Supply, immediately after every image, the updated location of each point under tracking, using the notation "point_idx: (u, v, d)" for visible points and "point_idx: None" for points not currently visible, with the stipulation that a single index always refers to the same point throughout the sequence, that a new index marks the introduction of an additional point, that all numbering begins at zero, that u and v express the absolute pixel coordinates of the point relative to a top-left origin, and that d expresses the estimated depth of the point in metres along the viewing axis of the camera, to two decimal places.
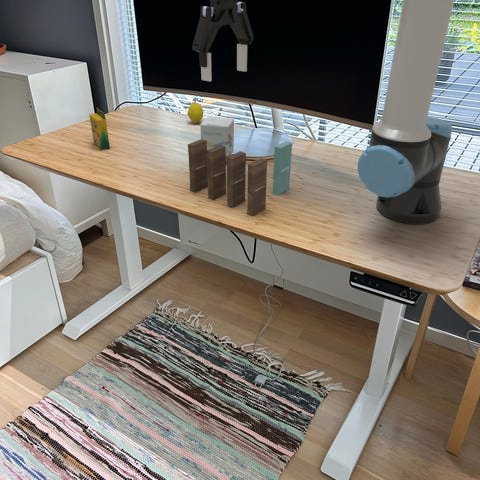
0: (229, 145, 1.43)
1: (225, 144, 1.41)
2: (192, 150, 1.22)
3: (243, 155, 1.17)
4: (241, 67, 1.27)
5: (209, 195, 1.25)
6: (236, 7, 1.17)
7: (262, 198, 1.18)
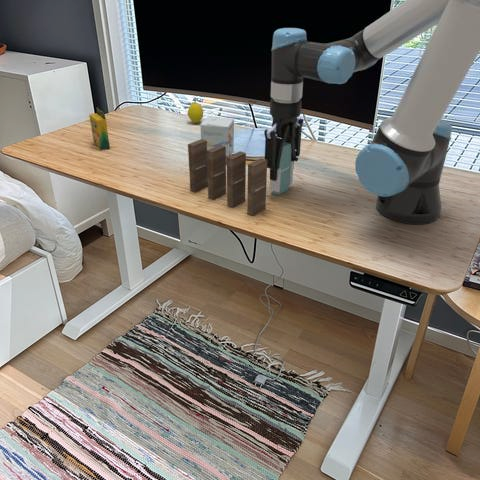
0: (229, 145, 1.43)
1: (225, 144, 1.41)
2: (192, 150, 1.22)
3: (243, 155, 1.17)
4: None
5: (209, 195, 1.25)
6: (295, 120, 1.21)
7: (262, 198, 1.18)
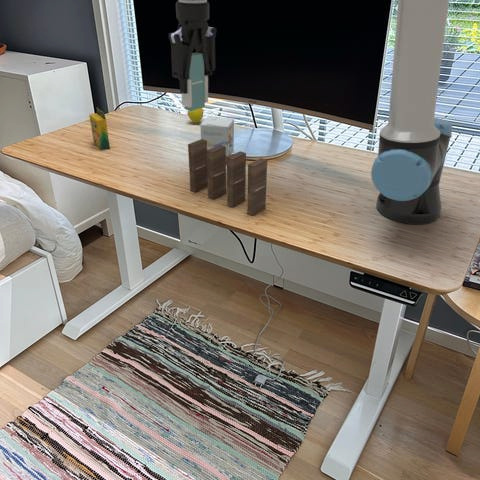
0: (229, 145, 1.43)
1: (225, 144, 1.41)
2: (192, 150, 1.22)
3: (243, 155, 1.17)
4: None
5: (209, 195, 1.25)
6: (206, 27, 1.14)
7: (262, 198, 1.18)
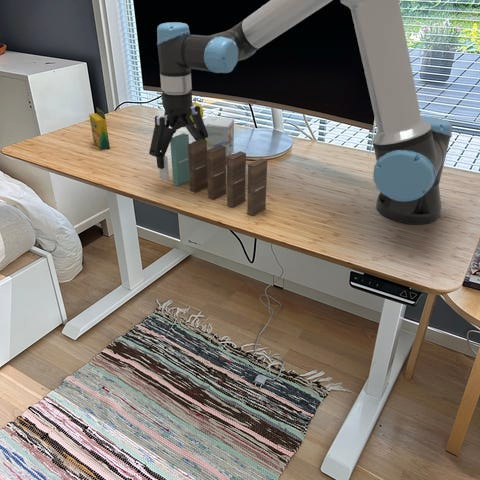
0: (229, 145, 1.43)
1: (225, 144, 1.41)
2: (192, 150, 1.22)
3: (243, 155, 1.17)
4: None
5: (209, 195, 1.25)
6: (190, 111, 1.25)
7: (262, 198, 1.18)
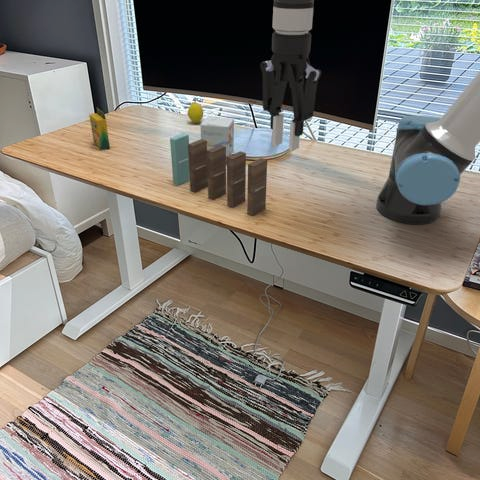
0: (229, 145, 1.43)
1: (225, 144, 1.41)
2: (192, 150, 1.22)
3: (243, 155, 1.17)
4: None
5: (209, 195, 1.25)
6: (301, 66, 0.94)
7: (262, 198, 1.18)
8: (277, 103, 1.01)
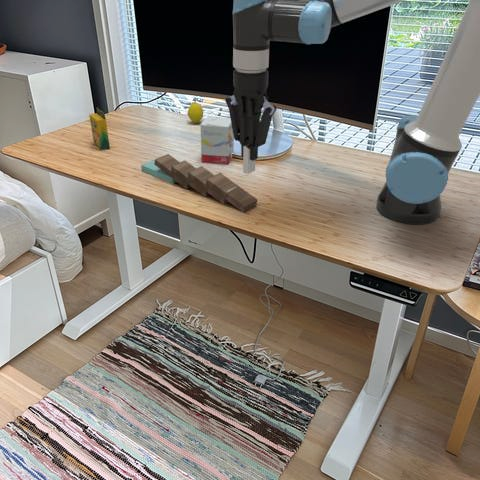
0: (229, 145, 1.43)
1: (225, 144, 1.41)
2: (157, 161, 1.33)
3: (200, 167, 1.29)
4: None
5: (203, 193, 1.26)
6: (259, 100, 1.04)
7: (244, 194, 1.21)
8: (245, 133, 1.11)
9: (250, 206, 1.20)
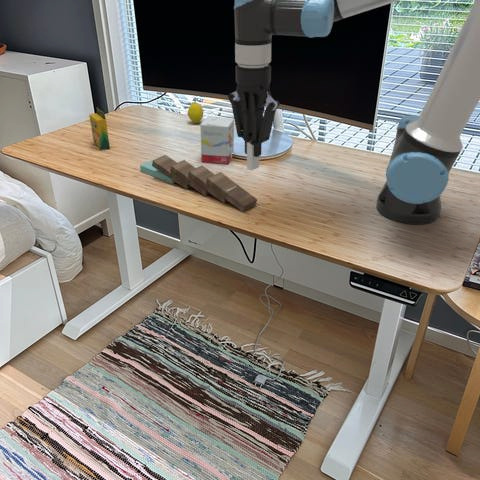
0: (229, 145, 1.43)
1: (225, 144, 1.41)
2: (155, 163, 1.32)
3: (200, 167, 1.29)
4: None
5: (203, 193, 1.26)
6: (262, 95, 1.03)
7: (243, 193, 1.22)
8: (248, 129, 1.10)
9: (249, 206, 1.20)
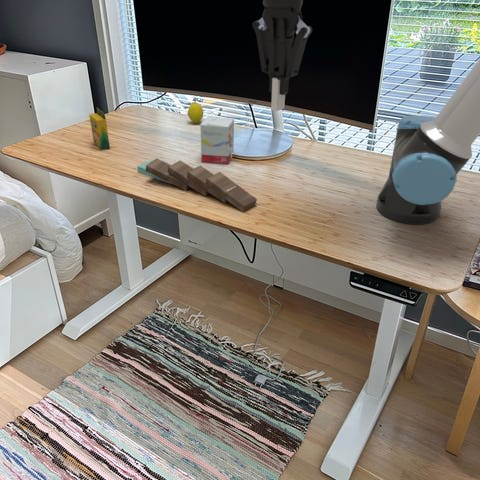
0: (229, 145, 1.43)
1: (225, 144, 1.41)
2: (149, 167, 1.31)
3: (199, 167, 1.29)
4: None
5: (202, 193, 1.26)
6: (292, 20, 0.91)
7: (243, 193, 1.22)
8: (275, 63, 0.98)
9: (249, 206, 1.20)
